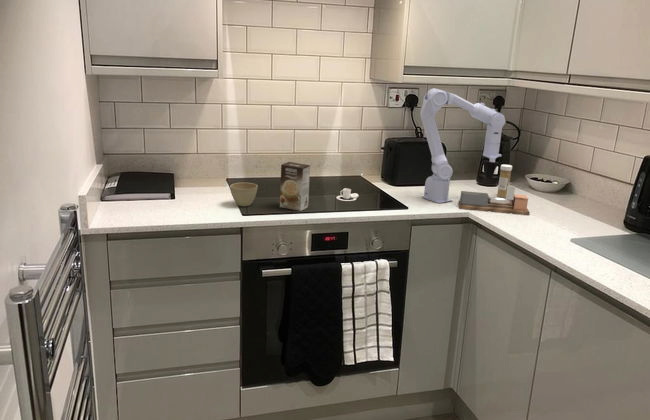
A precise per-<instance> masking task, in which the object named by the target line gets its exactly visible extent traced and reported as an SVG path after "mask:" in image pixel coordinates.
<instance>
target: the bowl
mask: <svg viewBox="0 0 650 420" xmlns="http://www.w3.org/2000/svg"><path fill="white" fill-rule="evenodd" d="M229 189H230V193H231V196H232V198H233V200H234V203H235V204H236V205H237V206H239V207H250V206H251V205H252V203H254V200H255V198H256V195H257V192H258V184H256V183H253V182H235V183H232V184H231V185H229Z"/></svg>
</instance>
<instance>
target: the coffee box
mask: <svg viewBox="0 0 650 420" xmlns="http://www.w3.org/2000/svg"><path fill="white" fill-rule="evenodd" d="M310 169H311V165H310V164H306V163H301V162H300V163H299V162H294V161H293V162H292V161H287V162H285V163H282V164H281V165H280V187H279V188H280V190H279V191H280V192H279V208H284V209H289V210H293V211H299V212H300V211H303V210H305V209H307V208H309V196H310V195H309V193H310V173H311V171H310Z"/></svg>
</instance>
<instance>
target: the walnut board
mask: <svg viewBox="0 0 650 420" xmlns="http://www.w3.org/2000/svg"><path fill="white" fill-rule="evenodd" d="M457 203H458V208H459V209H460V210H466V211H467V210H468V211H477V210H478V212H479V211H480V212H488V211H491V212H490V213H499V212H500V213H501V214H510V213H512V214H511V215H522V216H523V215H524V216H530V211H529V209H528V208H527V209H526V211H521V210H514V209H513V207H512V206H506V205H495V204H488V205H487V207H480V206H469V205H460V200H458V202H457Z"/></svg>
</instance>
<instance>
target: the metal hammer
mask: <svg viewBox="0 0 650 420" xmlns="http://www.w3.org/2000/svg"><path fill="white" fill-rule="evenodd" d="M515 190H516V186H515V185H509V186H508V187H507V194H506V198H503V197H499V196H489V197H488V204H495V205H506V206H514V203H515V199H513V198H514V194H515Z"/></svg>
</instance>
